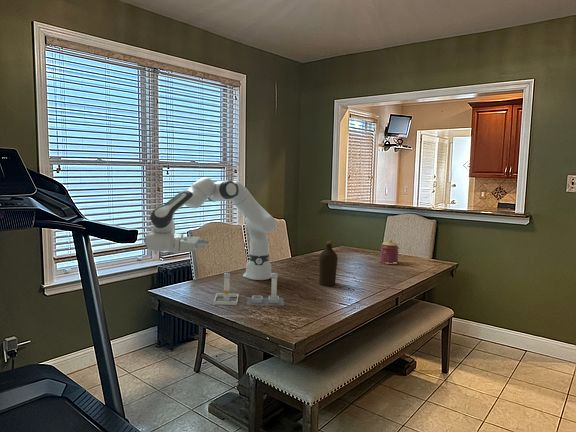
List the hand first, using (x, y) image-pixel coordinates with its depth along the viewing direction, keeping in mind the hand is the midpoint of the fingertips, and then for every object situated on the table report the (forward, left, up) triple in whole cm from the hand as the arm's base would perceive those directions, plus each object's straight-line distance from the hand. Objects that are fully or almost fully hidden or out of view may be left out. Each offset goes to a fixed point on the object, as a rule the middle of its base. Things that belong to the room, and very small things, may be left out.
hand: (207, 243), depth 215 cm
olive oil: (-34, +65, -28) cm, 79 cm away
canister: (-96, +119, -28) cm, 156 cm away
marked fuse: (+4, +10, -28) cm, 30 cm away
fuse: (+4, +33, -27) cm, 43 cm away
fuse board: (+4, +29, -28) cm, 41 cm away
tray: (+4, +10, -28) cm, 30 cm away
